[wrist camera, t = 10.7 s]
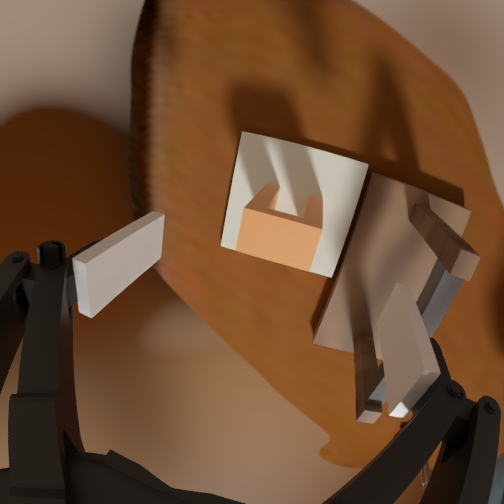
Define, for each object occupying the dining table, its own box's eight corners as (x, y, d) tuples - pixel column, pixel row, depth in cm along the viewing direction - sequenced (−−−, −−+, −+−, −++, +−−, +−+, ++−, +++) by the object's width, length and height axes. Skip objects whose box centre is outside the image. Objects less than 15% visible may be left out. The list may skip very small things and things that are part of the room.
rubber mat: (367, 163, 24) (368, 164, 23) (331, 274, 28) (331, 277, 28) (243, 131, 25) (242, 131, 24) (222, 243, 30) (220, 246, 29)
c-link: (322, 198, 25) (322, 229, 18) (313, 230, 26) (309, 271, 19) (266, 183, 26) (243, 207, 19) (259, 215, 27) (235, 250, 20)
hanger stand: (464, 207, 23) (530, 258, 12) (393, 353, 30) (406, 435, 20) (371, 171, 24) (405, 205, 14) (313, 334, 32) (303, 419, 21)
